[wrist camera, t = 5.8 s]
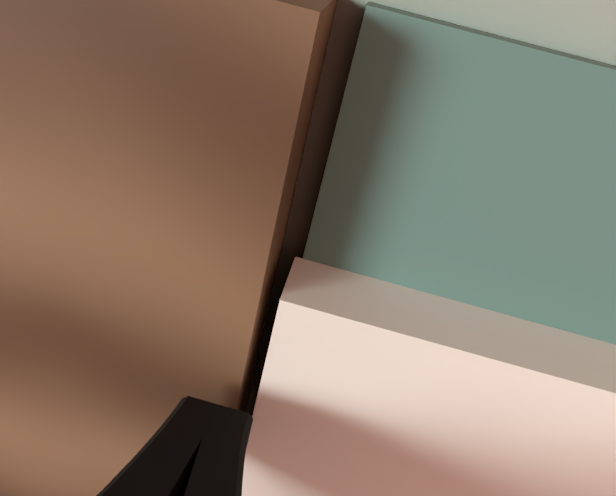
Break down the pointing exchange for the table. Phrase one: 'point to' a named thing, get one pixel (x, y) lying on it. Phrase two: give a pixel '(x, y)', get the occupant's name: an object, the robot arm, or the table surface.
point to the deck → (139, 216)
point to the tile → (425, 398)
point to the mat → (475, 173)
